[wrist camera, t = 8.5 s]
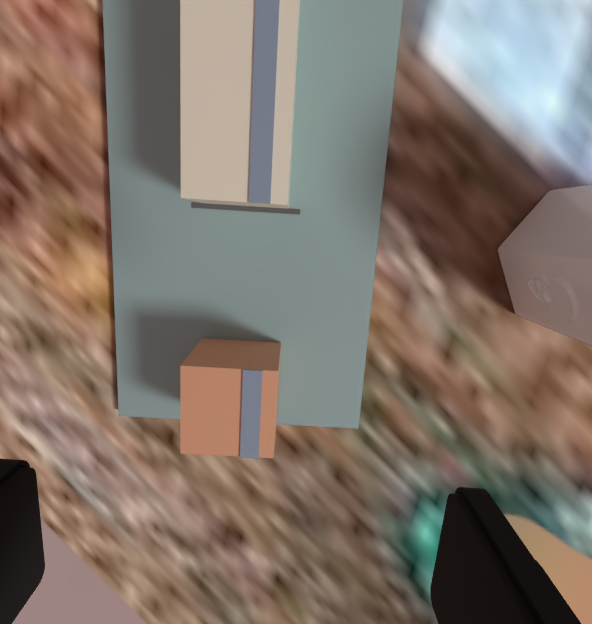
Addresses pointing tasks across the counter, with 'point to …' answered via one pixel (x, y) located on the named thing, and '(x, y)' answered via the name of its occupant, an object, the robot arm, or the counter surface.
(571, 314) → the jar
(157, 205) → the mat
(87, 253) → the counter surface
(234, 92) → the beige box
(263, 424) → the stub
